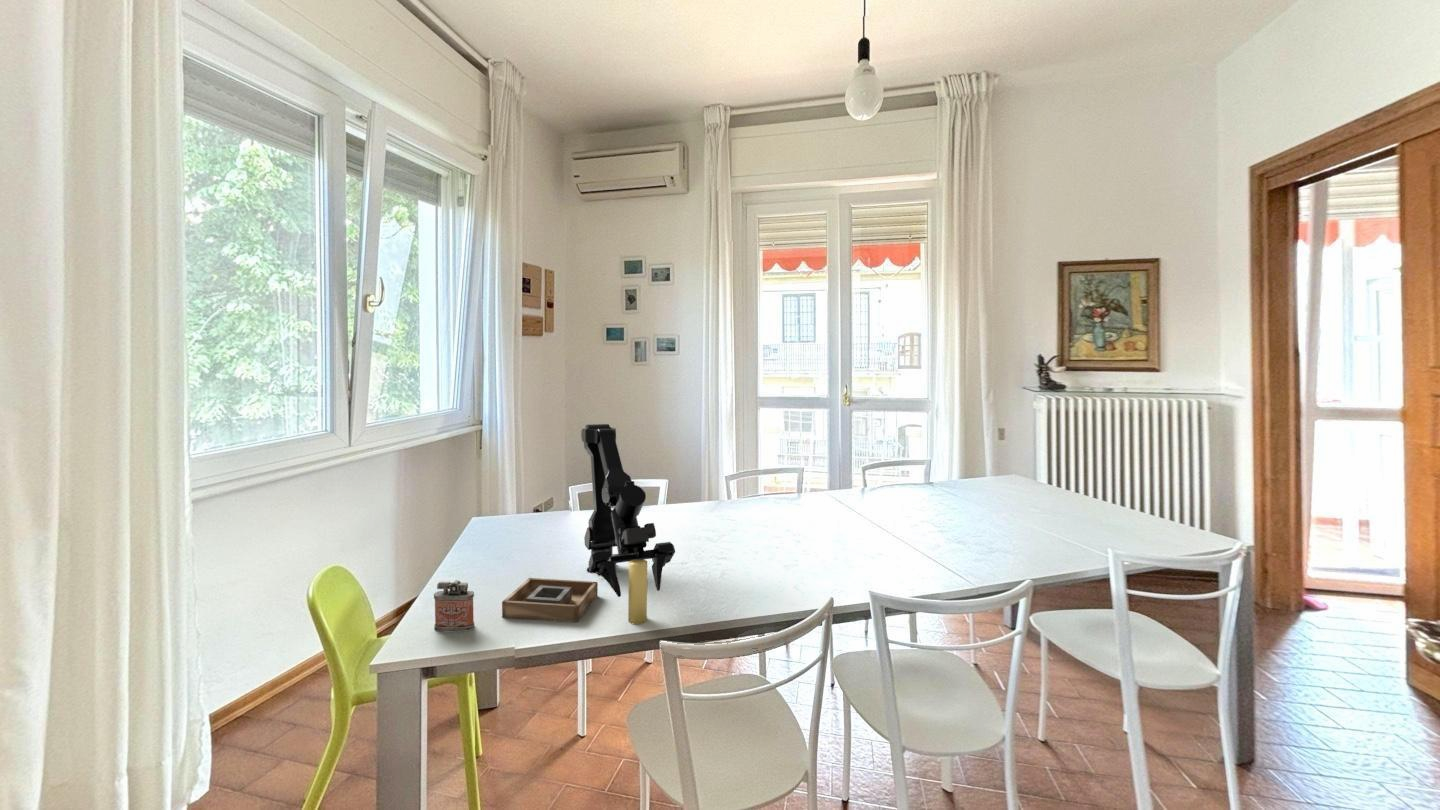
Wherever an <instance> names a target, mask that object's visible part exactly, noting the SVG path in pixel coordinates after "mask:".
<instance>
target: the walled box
mask: <svg viewBox="0 0 1440 810" xmlns="http://www.w3.org/2000/svg"><path fill="white" fill-rule="evenodd" d="M598 584H599V583H598V581H592V580H591V581H589V580H588V581H587V580H573V579H570V580H569V579H556V578H554V579H553V578H552V579H551V578H538V577H537V578H535V577H528V578H527V579H526V580H525V581H524V582H523V583H521V584H520V586H518V587H517V588H515V590H513V592H512V593H510V594H509V595H508V596H507V597H506V598H505V599H504V600H503V601H502V602H501V605H502V606H501V617H502V618H504V619H505V618H506V619H521V620H522V619H523V620H538V621H550V620H551V622H553V621H554V620H556V621H554V622H564V621H572V622H571V623H578V622H579V621H580V620H581V619H582V617H583V616H584V615H585V613H586V612H587V611H586V610H588V609H589V608H590V607H591V605H592V604H593V603H594V601H595V600H596V599H597V597H598V595H599V594H598V593H599V592H598ZM583 614H584V615H583ZM579 619H580V620H579ZM573 621H574V622H573Z"/></svg>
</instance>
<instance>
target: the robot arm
mask: <svg viewBox="0 0 1440 810" xmlns="http://www.w3.org/2000/svg"><path fill="white" fill-rule="evenodd" d="M580 433H581V442H583V447H584V450H585V451H586V453H587V454H588V455H589V457H590V464H591V465H590V466H591V467H590V468H591V483H592V486H591V487H592V498H593V499H592V500H593V501H592V502H593V511H592V514H591V515H590V518H589V519H588V527H587V528H586V531H585V534H584V546H585V548H586V549H587V550H588V551H590V557H589V558H588V559H589V560H588V567H587V568H586V572H589V573H590V574H597V576H602V578H603V579H604V580H605V581H606V583H608V584H609V586H610V587H611V589H612V590H613V592H614V593H615V594H616V596H617V598H620V597H621V596H622V593H621V587H620V582H619V578H618V575H617V572H616V565H617V564H619V563H627V562H628V563H629V561H631V560H634V559H643V560H652V561H651V562H652V565H651V571H652V575H653V580H654V585H655V589H656V591H657V592H659V591H660V590H661V585H662V576H663V575H662V573H663V567H665V566H666V564H669V563H670V562H671V561H672V559H673V557H674V555H675V553H676V548H675V546H674V544H673V543H672V542H671V541H666V542H665V541H664V542H658V543H655V544H654V545H655V546H654V547H653V549H648V550H646V549H644V548H646V547H647V546H648V545H647V543H649V542H650V539H654V538H655V537H656V536H657V531H656V526H655V523H654V522H651V523H646V524H644V525H643V527H642V526H640V525H639V522H638V519H637V518H638V516H639V515H640V513H641V511H642V508H643V505H644V503H645V501H646V499H647V498H646V497H647V495H646V492H645V491H644V489H643V488H642V487H640V486H639V485H636V484H635V481H634V480H632V478H631V476H630V475H629V474H628V473H627V472H625V471H624V468H623V464H622V460H621V456H620V452H619V449H618V448H619V447H618V445H617V428H616V427H612V426H611V427H610V424H609V423H603V424H602V423H601V424H600V423H599V424H597V423H596V424H595V423H594V424H593V423H592V424H586V425H585V427H584V428H582V429H581V432H580ZM612 507H614V508H613V509H612ZM616 547H617V553H614V552H613V548H616ZM613 553H614V554H613Z"/></svg>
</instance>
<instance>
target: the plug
mask: <svg viewBox="0 0 1440 810" xmlns="http://www.w3.org/2000/svg"><path fill="white" fill-rule="evenodd" d="M627 599H628V603H627V604H628V607H627V608H628V609H627V610H628V611H627V612H628V615H627V616H628V617H627V618H628V622H629V624H632V623H634V624H633V625H640V624H644V623H646V622H647V619H648V612H647V611H648V560H647V559H644V560H643V559H634V560H631V561H629V562H628V598H627Z"/></svg>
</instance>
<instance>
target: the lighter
mask: <svg viewBox="0 0 1440 810" xmlns="http://www.w3.org/2000/svg"><path fill="white" fill-rule="evenodd" d="M436 588H437V590H439V591H436V592H434V593H433V599H434V618H435V619H434V626H433V627H434V631H437V632H446V631H458V632H466V631H465V630H469V631H471V630H470V629H472V630H474V629H475V621H474V597H475V591H473V590H468V588H469V583H468V582H461V581H460V580H459V579H458V580H454V581H453V582H451V581H438V582H437V584H436Z"/></svg>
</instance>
